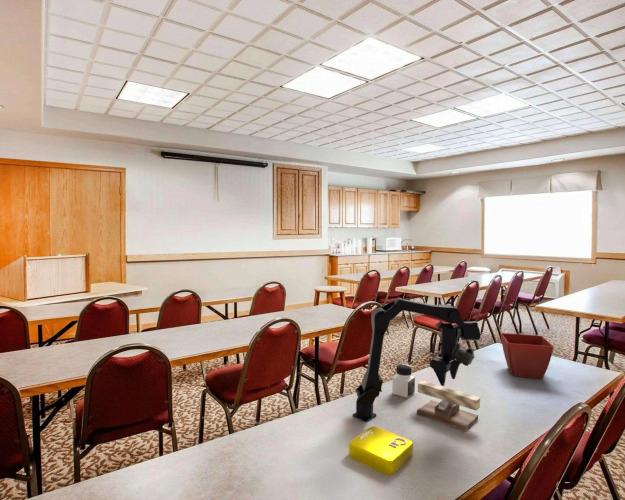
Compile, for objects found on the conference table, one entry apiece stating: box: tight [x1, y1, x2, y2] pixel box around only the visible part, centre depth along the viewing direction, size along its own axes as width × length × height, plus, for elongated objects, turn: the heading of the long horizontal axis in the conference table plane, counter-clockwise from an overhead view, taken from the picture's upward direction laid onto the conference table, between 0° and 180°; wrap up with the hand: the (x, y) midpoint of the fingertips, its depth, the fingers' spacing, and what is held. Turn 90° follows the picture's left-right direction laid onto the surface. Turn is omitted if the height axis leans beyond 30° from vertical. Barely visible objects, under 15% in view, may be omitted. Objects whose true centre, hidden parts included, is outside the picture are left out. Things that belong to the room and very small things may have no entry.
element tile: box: [348, 425, 414, 476], centre depth 116 cm, size 15×15×5 cm
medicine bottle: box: [391, 363, 416, 399], centre depth 160 cm, size 7×7×12 cm
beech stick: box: [417, 380, 481, 411], centre depth 140 cm, size 22×4×4 cm, turn 47°
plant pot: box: [500, 332, 554, 380], centre depth 186 cm, size 19×19×17 cm
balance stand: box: [416, 399, 479, 432], centre depth 140 cm, size 12×18×6 cm, turn 47°
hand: (448, 382), depth 140 cm, fingers open, 9 cm apart
